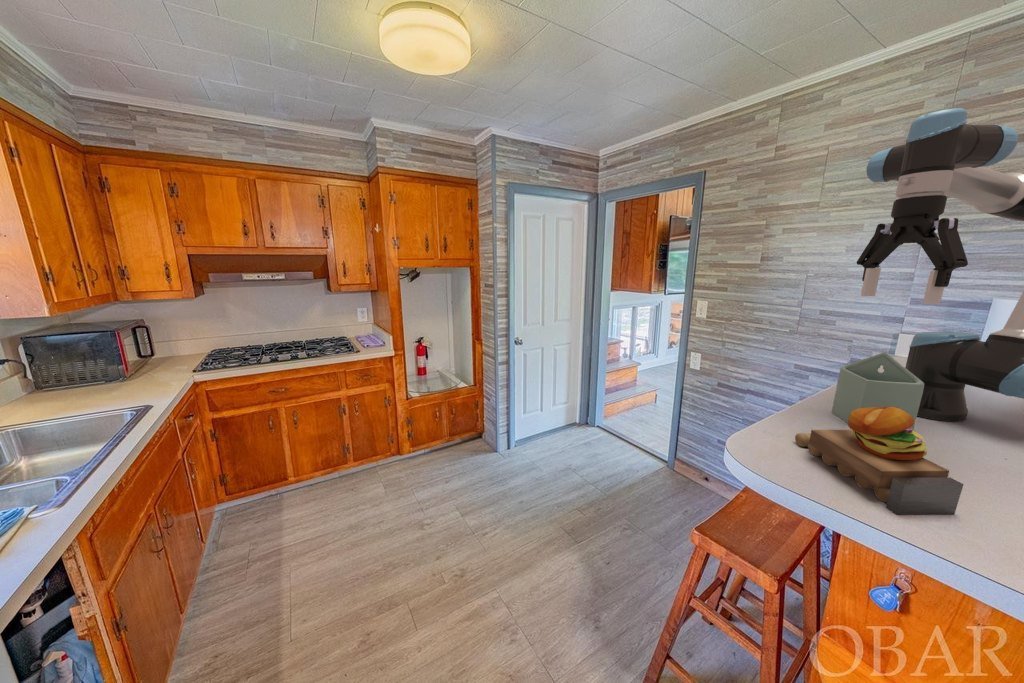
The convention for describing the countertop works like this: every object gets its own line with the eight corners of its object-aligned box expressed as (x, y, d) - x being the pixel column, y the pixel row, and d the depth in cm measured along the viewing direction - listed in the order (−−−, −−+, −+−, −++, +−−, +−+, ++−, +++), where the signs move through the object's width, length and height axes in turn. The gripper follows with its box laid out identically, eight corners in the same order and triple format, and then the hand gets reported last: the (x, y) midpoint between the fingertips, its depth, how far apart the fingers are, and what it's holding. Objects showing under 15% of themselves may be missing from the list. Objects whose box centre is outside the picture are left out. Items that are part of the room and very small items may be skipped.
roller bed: (827, 442, 89) (829, 430, 88) (932, 505, 66) (936, 490, 66) (794, 442, 89) (796, 431, 88) (888, 505, 66) (892, 490, 66)
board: (862, 443, 82) (865, 429, 81) (944, 487, 66) (949, 470, 65) (808, 444, 82) (811, 430, 81) (877, 488, 66) (882, 471, 66)
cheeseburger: (939, 470, 65) (933, 418, 64) (858, 467, 71) (851, 418, 70) (917, 445, 73) (912, 398, 72) (846, 443, 79) (840, 400, 78)
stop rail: (941, 506, 66) (950, 477, 65) (954, 514, 64) (963, 484, 63) (885, 507, 66) (892, 477, 65) (896, 514, 64) (904, 484, 63)
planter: (819, 417, 102) (832, 349, 98) (832, 411, 106) (845, 345, 101) (900, 442, 88) (920, 364, 84) (912, 434, 92) (931, 359, 87)
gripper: (848, 205, 88) (831, 293, 92) (976, 185, 63) (944, 307, 68) (879, 204, 88) (861, 293, 92) (1020, 184, 63) (985, 306, 68)
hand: (896, 299), depth 80 cm, fingers open, 13 cm apart
